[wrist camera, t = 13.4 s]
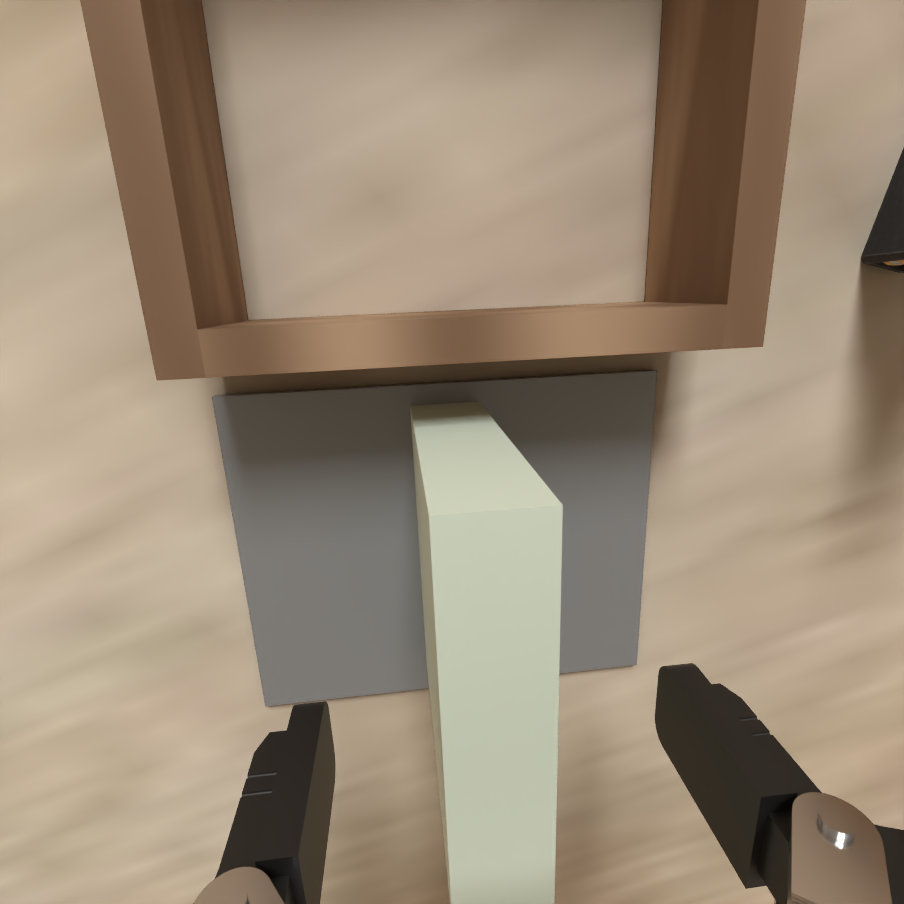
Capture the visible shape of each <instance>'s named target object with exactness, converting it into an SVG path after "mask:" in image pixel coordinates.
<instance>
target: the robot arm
mask: <svg viewBox="0 0 904 904" xmlns="http://www.w3.org/2000/svg"><path fill="white" fill-rule="evenodd" d="M655 724H656V730H657V734H658V737H659V740H660V742H661V744H662V746H663V748H664V750H665V751H666V753H667V755H668V757H669V758H670V760H671V762H672V763H673V765H674V767H675V768H676V770H677V772H678V774H679V775H680V777H681V779H682V780H683V782H684V784H685V786H686V787H687V789H688V791H689V792H690V794H691V796H692V797H693V799H694V801H695V803H696V804H697V806H698V808H699V809H700V811H701V813H702V815H703V816H704V818H705V820H706V821H707V823H708V825H709V826H710V828H711V830H712V832H713V833H714V835H715V837H716V838H717V840H718V842H719V844H720V845H721V847H722V849H723V850H724V852H725V854H726V855H727V857H728V859H729V861H730V862H731V864H732V866H733V867H734V869H735V871H736V873H737V874H738V876H739V878H740V879H741V881H742V883H743V885H744V886H745V888H746V889H747V888H754V887H760V886H767V887H768V889H769V890H770V892H771V893H772V895H773V897H774V898H775V901H774V904H904V830H900V829H894V828H888V827H883V826H878V825H874V824H873V823H872V822H871V821H870V820H869V819H868V818H867V817H866V816H865V815H864V814H863V813H862V812H861V811H859V810H858V809H857V808H855V807H854V806H852V805H851V804H849V803H847V802H845V801H844V800H842V799H839V798H837V797H835V796H832V795H828V794H824V793H822V792H821V791H820V790H819V789H818V788H817V787H816V786H815V784H814V783H813V782H812V781H811V780H810V778H809V777H808V776H807V775H806V774H805V773H804V771H803V770H802V769H801V768H800V767H799V765H798V764H797V763H796V762H795V761H794V760H793V758H792V757H791V756H790V755H789V754H788V753H787V751H786V750H785V749H784V748H783V747H782V745H781V744H780V743H779V742H778V741H777V740H776V738H775V737H774V736H773V735H770V733H769V730H768V729H767V728H766V727H765V725H764V724H763V723H762V722H761V721H760V720H758V719H757V716H756V715H755V714H754V712H753V711H752V710H751V709H750V708H749V707H748V705H747V704H746V703H745V702H744V701H743V699H742V698H740V697H739V696H737V695H736V694H735V693H733V692H732V691H730V690H729V689H727V688H726V687H724V686H723V685H721V684H711V683H710V682H709V681H708V679H707V678H706V677H705V676H704V675H703V673H702V672H701V671H700V670H699V668H698V667H697V666H696V665H694V664H692V663H690V664H680V665H671V666H663V667H661V668H660V670H659V675H658V687H657V698H656V710H655ZM334 784H335V753H334V745H333V737H332V730H331V723H330V715H329V708H328V704H327V702H317V703H308V704H299V705H294V706H293V709H292V712H291V716H290V720H289V724H288V728H287V731H278V732H270V733H269V734H268V735H267V737H266V738H265V739H264V741H263V742H262V743H261V745H260V746H259V747H258V748H257V750H256V751H255V752H254V755H253V759H252V762H251V765H250V769H249V772H248V778H247V779H246V782H245V785H244V788H243V791H242V798H240V801H239V805H238V808H237V811H236V814H235V818H234V821H233V824H232V828H231V831H230V834H229V837H228V841H227V844H226V847H225V851H224V854H223V857H222V860H221V864H220V867H219V870H218V872H217V875H216V877H215V879H214V880H213V881H212V882H210V883H209V884H208V885H207V886H206V887H205V888H204V889H203V890H202V892H201V893H200V894H199V895H198V897H197V898H196V900H195V901H194V903H193V904H320V898H321V890H322V882H323V873H324V865H325V857H326V849H327V841H328V833H329V825H330V817H331V809H332V800H333V792H334Z"/></svg>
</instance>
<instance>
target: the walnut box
mask: <svg viewBox="0 0 904 904" xmlns="http://www.w3.org/2000/svg"><path fill="white" fill-rule="evenodd" d="M80 1H81V6H82V11H83V16H84V21H85V26H86V31H87V36H88V41H89V46H90V51H91V56H92V61H93V66H94V71H95V76H96V81H97V86H98V91H99V96H100V101H101V106H102V111H103V116H104V121H105V126H106V131H107V136H108V141H109V146H110V151H111V156H112V160H113V165H114V170H115V175H116V180H117V185H118V190H119V195H120V200H121V205H122V210H123V215H124V220H125V225H126V230H127V235H128V240H129V245H130V250H131V255H132V260H133V265H134V270H135V275H136V280H137V285H138V290H139V295H140V300H141V305H142V310H143V315H144V320H145V325H146V330H147V334H148V339H149V344H150V349H151V354H152V359H153V364H154V369H155V374H156V379H157V380H172V379H190V378H208V377H226V376H244V375H262V374H280V373H298V372H316V371H334V370H352V369H370V368H388V367H406V366H424V365H442V364H460V363H478V362H496V361H514V360H532V359H550V358H568V357H586V356H604V355H622V354H640V353H658V352H676V351H694V350H712V349H730V348H748V347H763V342H764V334H765V326H766V318H767V310H768V302H769V294H770V286H771V278H772V270H773V262H774V254H775V246H776V238H777V230H778V222H779V214H780V206H781V198H782V190H783V182H784V174H785V166H786V158H787V150H788V142H789V134H790V126H791V118H792V110H793V102H794V94H795V86H796V78H797V70H798V62H799V54H800V46H801V38H802V30H803V22H804V14H805V6H806V0H663V10H662V27H661V43H660V60H659V76H658V92H657V109H656V125H655V142H654V158H653V175H652V191H651V208H650V224H649V240H648V257H647V273H646V290H645V302H629V303H607V304H585V305H564V306H542V307H521V308H499V309H477V310H456V311H434V312H413V313H391V314H369V315H348V316H326V317H304V318H283V319H261V320H248V316H247V309H246V302H245V295H244V289H243V282H242V275H241V268H240V261H239V254H238V248H237V241H236V234H235V227H234V220H233V214H232V207H231V200H230V193H229V186H228V180H227V173H226V166H225V159H224V152H223V145H222V139H221V132H220V125H219V118H218V111H217V105H216V98H215V91H214V84H213V77H212V71H211V64H210V57H209V50H208V43H207V36H206V30H205V23H204V16H203V9H202V2H201V0H80Z"/></svg>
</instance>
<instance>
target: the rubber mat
mask: <svg viewBox="0 0 904 904" xmlns="http://www.w3.org/2000/svg"><path fill="white" fill-rule="evenodd" d="M656 379H657V371H655V370H643V371H626V372H609V373H592V374H575V375H558V376H541V377H524V378H507V379H490V380H473V381H456V382H438V383H421V384H404V385H387V386H370V387H353V388H336V389H319V390H302V391H285V392H268V393H251V394H234V395H217V396H213V397H212V400H213V405H214V411H215V417H216V423H217V429H218V434H219V440H220V446H221V452H222V458H223V463H224V469H225V475H226V481H227V486H228V492H229V498H230V504H231V510H232V515H233V521H234V527H235V533H236V539H237V544H238V550H239V556H240V562H241V568H242V573H243V579H244V585H245V591H246V596H247V602H248V608H249V614H250V620H251V625H252V631H253V637H254V643H255V649H256V654H257V660H258V666H259V672H260V678H261V683H262V689H263V695H264V701H265V706H274V705H283V704H292V703H301V702H310V701H319V700H328V699H337V698H346V697H355V696H364V695H373V694H382V693H391V692H400V691H409V690H418V689H427V688H429V683H428V672H427V661H426V646H425V630H424V614H423V599H422V583H421V567H420V552H419V536H418V521H417V505H416V489H415V474H414V458H413V443H412V427H411V411H410V406H413V405H429V404H446V403H462V402H478V401H479V402H480V404H481V405H482V406H483V407H484V408H485V410H486V411H487V412H488V413H489V415H490V416H491V417H492V418H493V420H494V421H495V422H496V423H497V425H498V426H499V427H500V428H501V429H502V431H503V432H504V433H505V434H506V436H507V437H508V438H509V439H510V441H511V442H512V443H513V444H514V445H515V447H516V448H517V449H518V450H519V452H520V453H521V454H522V455H523V457H524V458H525V459H526V460H527V462H528V463H529V464H530V465H531V466H532V468H533V469H534V470H535V471H536V473H537V474H538V475H539V476H540V478H541V479H542V480H543V481H544V482H545V484H546V485H547V486H548V487H549V489H550V490H551V491H552V492H553V494H554V495H555V496H556V497H557V499H558V500H559V501H560V502H561V503H562V505H563V519H562V567H561V615H560V662H559V674H561V673H570V672H579V671H588V670H597V669H606V668H615V667H624V666H633V665H637V652H638V637H639V623H640V609H641V594H642V580H643V566H644V551H645V537H646V523H647V508H648V494H649V480H650V465H651V451H652V437H653V422H654V408H655V394H656Z"/></svg>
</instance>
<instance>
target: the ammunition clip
mask: <svg viewBox="0 0 904 904" xmlns="http://www.w3.org/2000/svg"><path fill="white" fill-rule="evenodd" d="M861 257H862V259H863V262H864V263H866V264H870V265H874V266H877V267H881V268H885V269H888V270H892V271H896V272H900V273H904V148H903V151H902V153H901V156H900V159H899V161H898V164H897V166H896V169H895V171H894V174H893V176H892V179H891V182H890V184H889V187H888V189H887V192H886V194H885V197H884V199H883V202H882V205H881V207H880V210H879V212H878V215H877V217H876V220H875V223H874V225H873V228H872V230H871V233H870V235H869V238H868V240H867V243H866V246H865V248H864V251H863V253H862V256H861Z"/></svg>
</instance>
